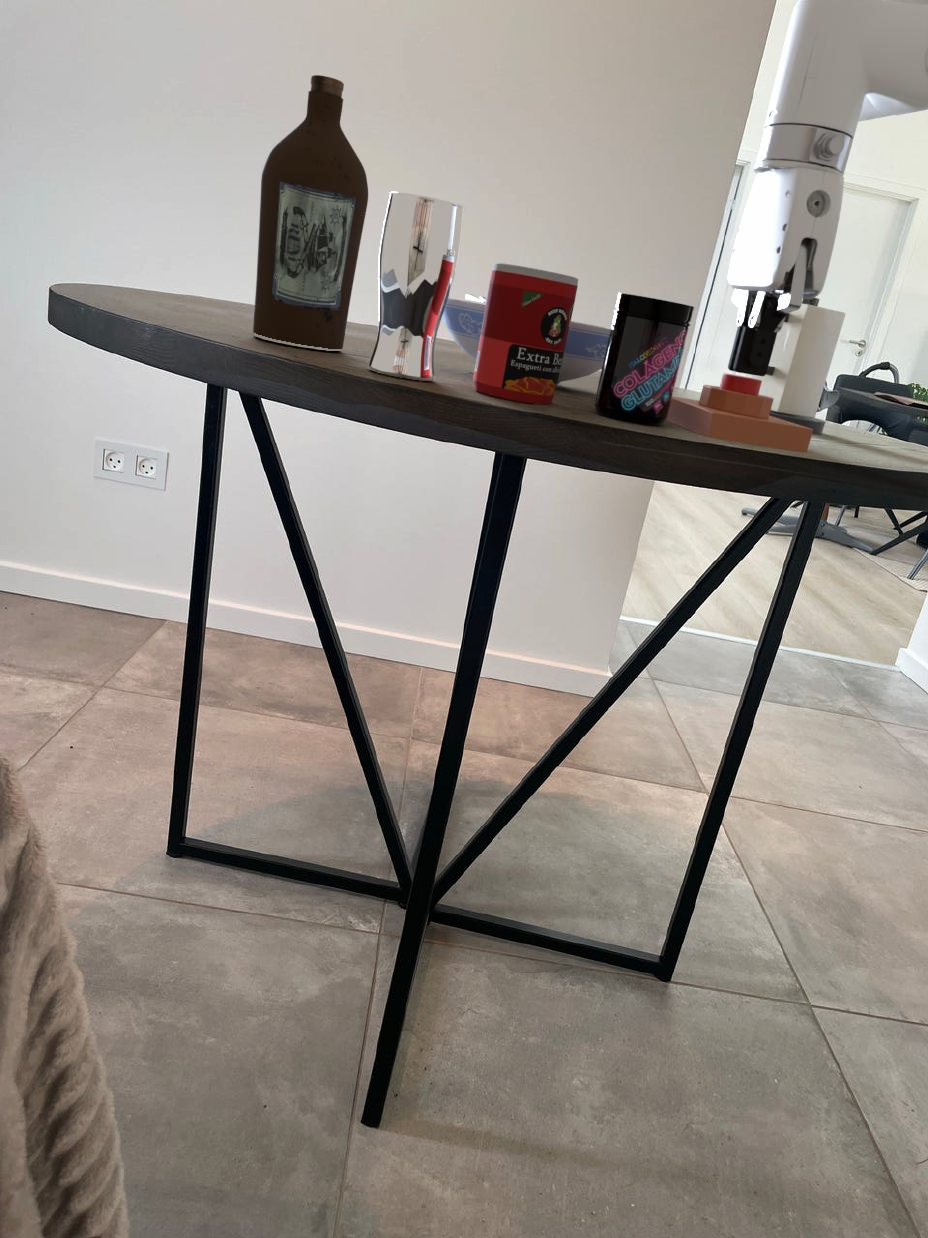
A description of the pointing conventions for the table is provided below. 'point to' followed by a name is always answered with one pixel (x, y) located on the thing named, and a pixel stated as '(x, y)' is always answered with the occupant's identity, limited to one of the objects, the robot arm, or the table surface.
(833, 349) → the kettle
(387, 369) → the beer glass
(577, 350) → the ramen bowl
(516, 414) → the table surface
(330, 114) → the olive oil
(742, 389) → the button
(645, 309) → the supplement container
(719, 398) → the switch block
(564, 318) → the canned food
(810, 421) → the kettle base
